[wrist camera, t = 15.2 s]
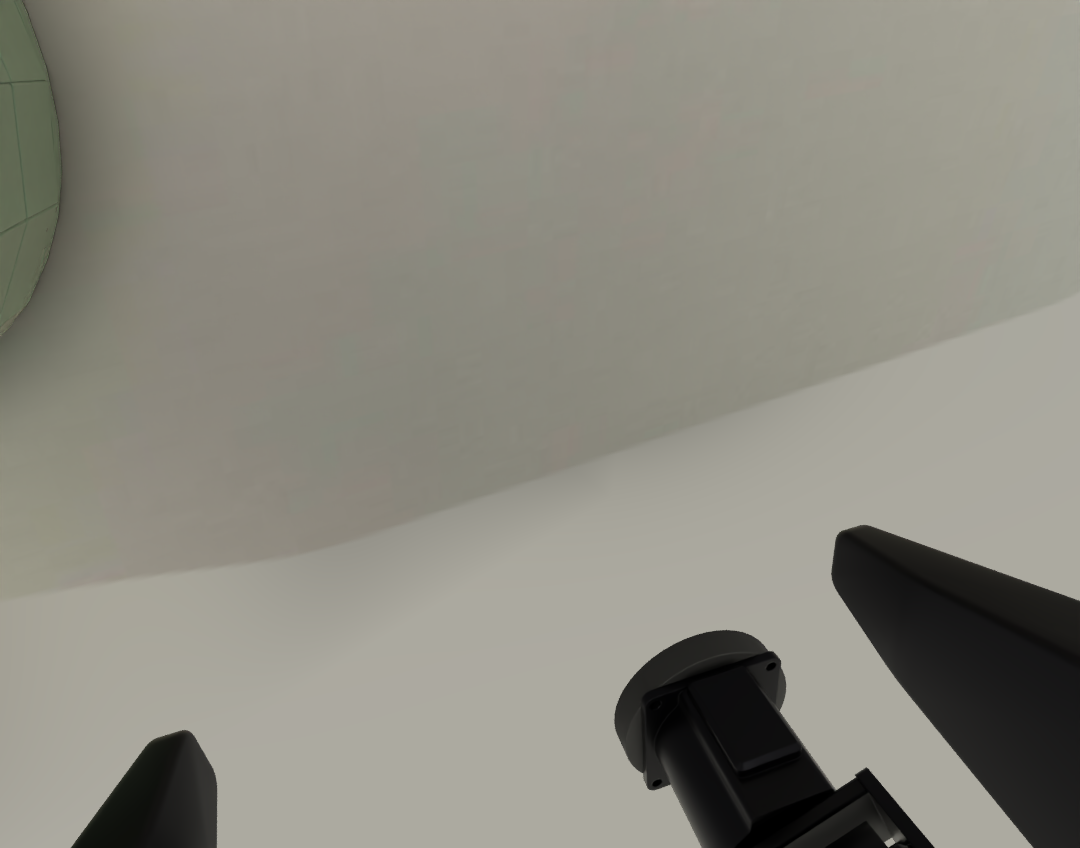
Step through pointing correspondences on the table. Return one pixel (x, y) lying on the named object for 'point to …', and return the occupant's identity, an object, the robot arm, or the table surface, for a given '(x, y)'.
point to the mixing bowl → (25, 162)
